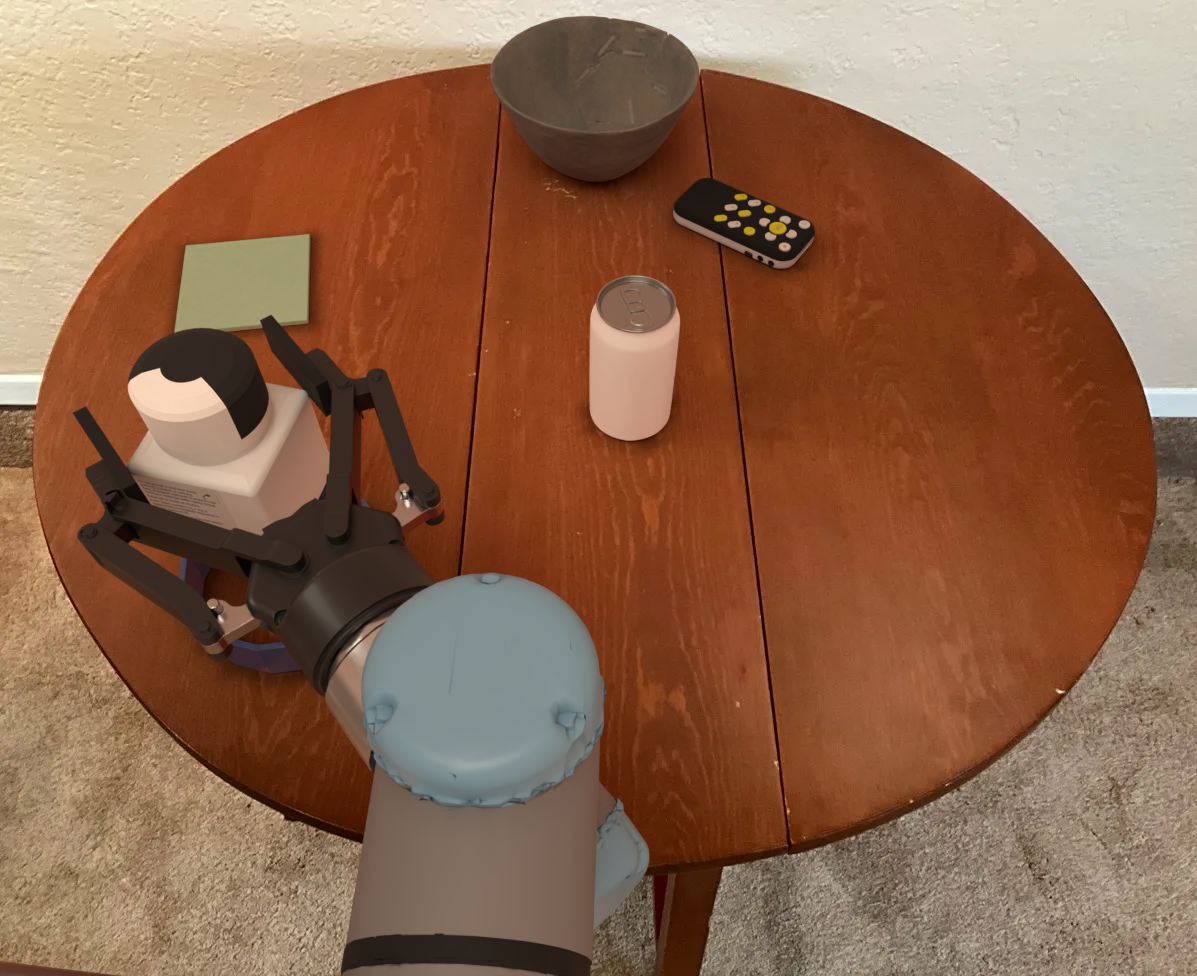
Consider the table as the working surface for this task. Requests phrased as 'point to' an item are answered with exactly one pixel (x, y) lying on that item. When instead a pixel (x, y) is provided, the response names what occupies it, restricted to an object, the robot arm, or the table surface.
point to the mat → (245, 283)
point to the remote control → (744, 222)
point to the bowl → (594, 92)
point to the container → (222, 434)
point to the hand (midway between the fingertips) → (183, 377)
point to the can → (633, 357)
